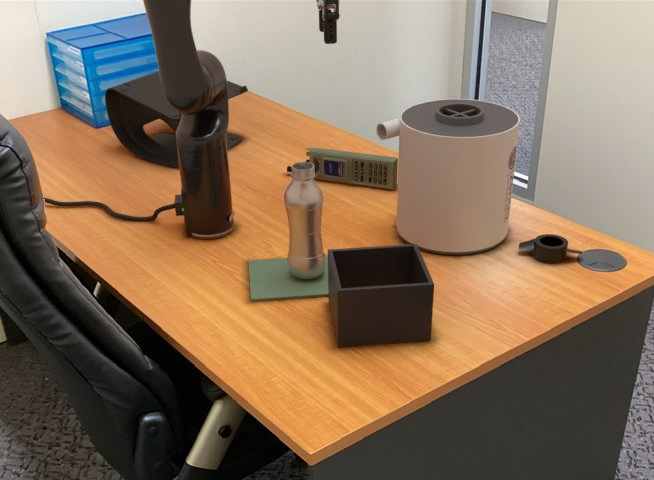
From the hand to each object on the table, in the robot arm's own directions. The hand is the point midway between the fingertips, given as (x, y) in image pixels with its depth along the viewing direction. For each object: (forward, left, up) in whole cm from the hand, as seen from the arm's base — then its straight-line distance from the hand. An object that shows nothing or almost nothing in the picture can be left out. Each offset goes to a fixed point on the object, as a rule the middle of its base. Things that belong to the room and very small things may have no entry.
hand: (327, 37), depth 151 cm
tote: (+3, -42, -34) cm, 54 cm away
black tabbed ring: (+37, -24, -34) cm, 56 cm away
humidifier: (+20, -11, -34) cm, 41 cm away
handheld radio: (+4, +16, -34) cm, 38 cm away
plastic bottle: (-7, -26, -34) cm, 43 cm away
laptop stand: (-31, +44, -34) cm, 64 cm away
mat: (-7, -26, -34) cm, 43 cm away
